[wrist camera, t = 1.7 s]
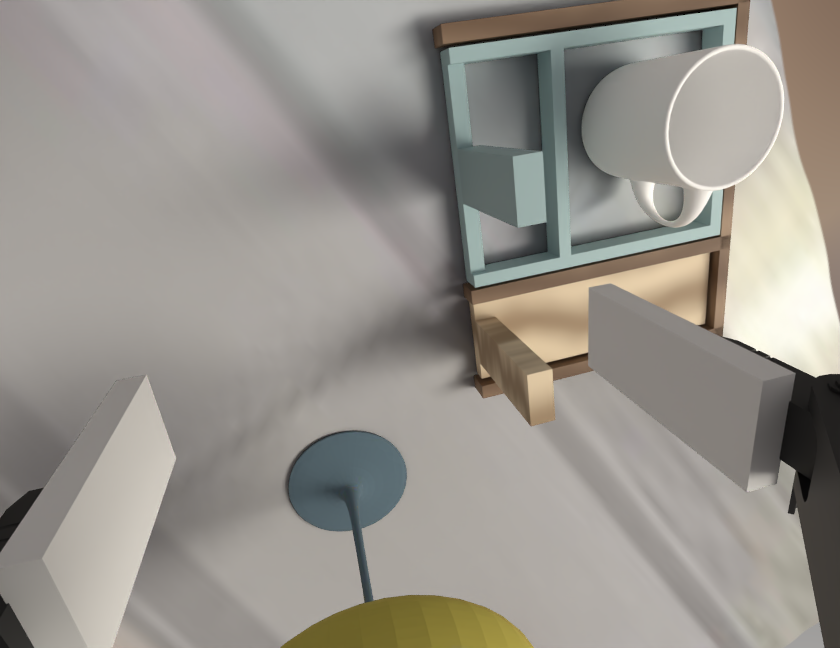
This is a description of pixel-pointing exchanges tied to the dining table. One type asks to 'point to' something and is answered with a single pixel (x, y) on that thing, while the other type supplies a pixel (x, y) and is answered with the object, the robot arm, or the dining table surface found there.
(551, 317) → the light wood drawer
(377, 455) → the cocktail glass
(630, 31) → the teal divided frame
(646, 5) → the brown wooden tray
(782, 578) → the dining table surface
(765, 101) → the mug
